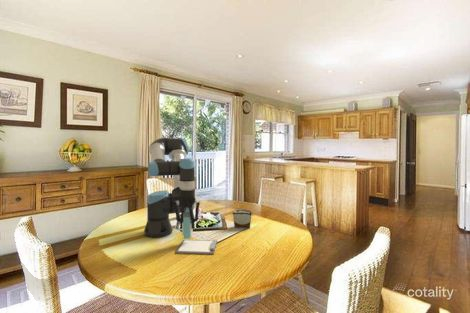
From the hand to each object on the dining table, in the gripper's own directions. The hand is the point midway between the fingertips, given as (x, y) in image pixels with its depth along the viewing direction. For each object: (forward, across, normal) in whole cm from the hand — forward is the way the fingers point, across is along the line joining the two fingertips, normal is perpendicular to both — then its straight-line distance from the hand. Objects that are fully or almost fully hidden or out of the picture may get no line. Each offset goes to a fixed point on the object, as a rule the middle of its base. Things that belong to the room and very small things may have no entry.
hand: (187, 234), depth 121 cm
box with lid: (+2, 0, 0) cm, 2 cm away
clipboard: (+5, +6, -4) cm, 8 cm away
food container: (+5, +28, +27) cm, 39 cm away
